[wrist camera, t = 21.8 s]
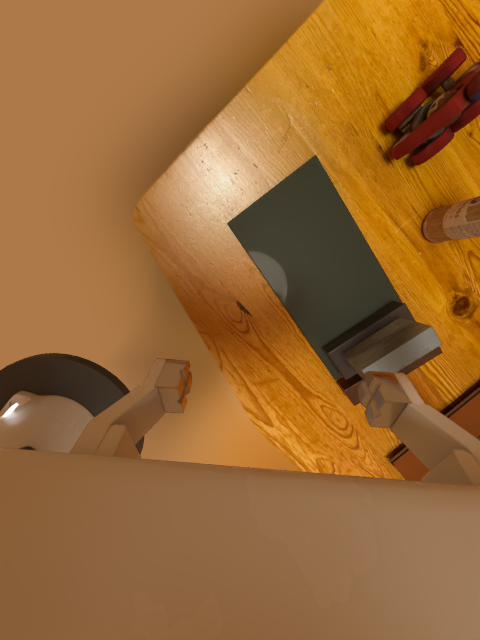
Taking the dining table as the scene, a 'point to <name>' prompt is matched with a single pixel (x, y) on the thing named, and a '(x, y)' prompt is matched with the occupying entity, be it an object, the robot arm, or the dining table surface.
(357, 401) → the ledge
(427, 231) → the sprinkles bottle
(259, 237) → the chalkboard
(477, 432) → the book
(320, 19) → the dining table surface
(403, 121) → the toy fire truck
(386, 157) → the dining table surface
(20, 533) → the robot arm
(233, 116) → the dining table surface
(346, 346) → the eraser
